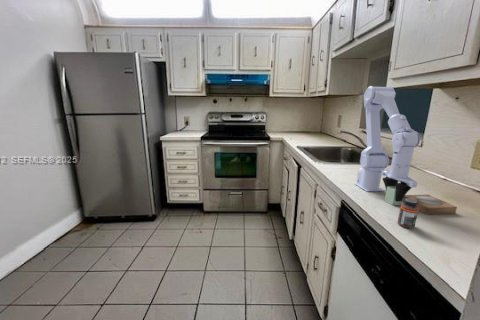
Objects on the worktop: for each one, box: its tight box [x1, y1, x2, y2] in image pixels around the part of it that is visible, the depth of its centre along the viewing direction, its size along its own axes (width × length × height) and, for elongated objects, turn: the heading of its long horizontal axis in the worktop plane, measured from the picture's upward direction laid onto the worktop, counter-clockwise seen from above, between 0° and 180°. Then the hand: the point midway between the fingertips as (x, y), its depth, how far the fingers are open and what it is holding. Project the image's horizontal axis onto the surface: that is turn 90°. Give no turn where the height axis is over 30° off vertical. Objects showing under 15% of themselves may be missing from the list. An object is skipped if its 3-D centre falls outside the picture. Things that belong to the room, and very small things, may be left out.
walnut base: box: [402, 194, 458, 216], centre depth 84 cm, size 11×11×3 cm
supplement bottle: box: [397, 199, 419, 229], centre depth 70 cm, size 4×4×8 cm
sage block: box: [384, 186, 404, 206], centre depth 87 cm, size 4×4×6 cm
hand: (393, 198), depth 87 cm, fingers closed on sage block, 4 cm apart
